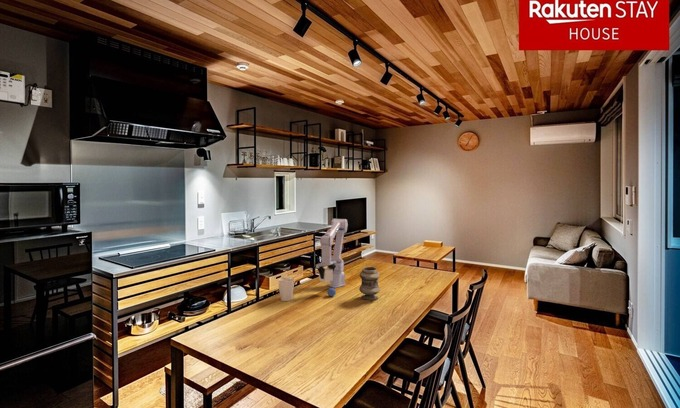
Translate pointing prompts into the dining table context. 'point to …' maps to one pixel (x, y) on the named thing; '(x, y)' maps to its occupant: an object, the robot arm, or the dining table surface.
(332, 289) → the ball
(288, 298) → the cup
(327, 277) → the beige block
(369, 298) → the apothecary jar
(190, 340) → the dining table surface
